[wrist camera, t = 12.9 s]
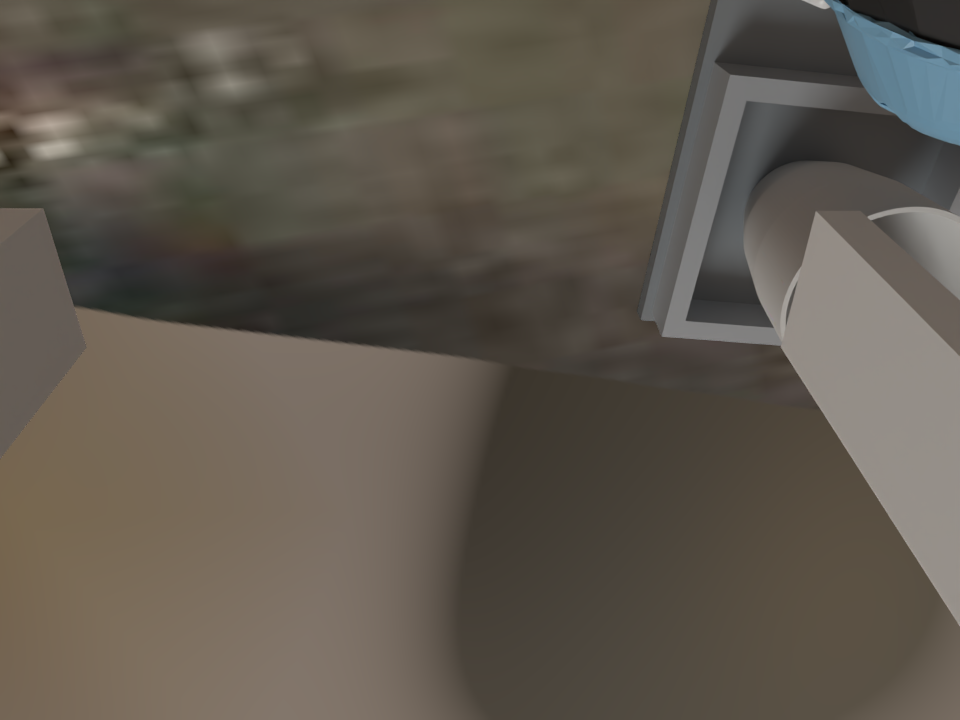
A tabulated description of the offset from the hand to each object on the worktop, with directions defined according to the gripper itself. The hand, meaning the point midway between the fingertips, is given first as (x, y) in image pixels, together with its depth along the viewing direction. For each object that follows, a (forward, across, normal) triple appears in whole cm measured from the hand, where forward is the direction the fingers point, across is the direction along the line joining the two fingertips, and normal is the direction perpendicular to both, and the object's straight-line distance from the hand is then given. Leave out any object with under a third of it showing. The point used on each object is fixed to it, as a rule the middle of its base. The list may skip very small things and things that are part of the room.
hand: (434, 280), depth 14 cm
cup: (+25, +17, -8) cm, 31 cm away
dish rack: (+25, +18, -6) cm, 32 cm away
